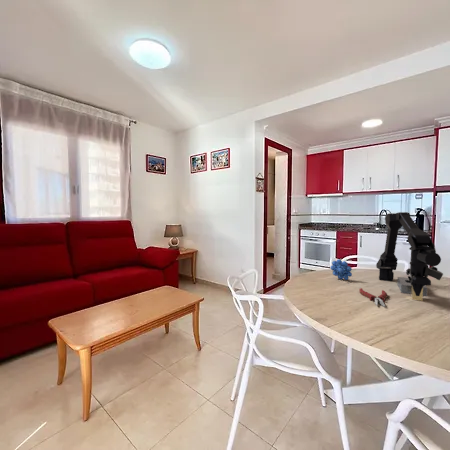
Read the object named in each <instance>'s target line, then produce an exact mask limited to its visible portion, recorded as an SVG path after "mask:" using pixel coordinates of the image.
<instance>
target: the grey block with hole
mask: <svg viewBox="0 0 450 450" xmlns="http://www.w3.org/2000/svg"><path fill="white" fill-rule="evenodd" d="M396 284H397V286H398V288H399V291H400V293H402V294H410V295H411V287H412V286H411V283H410V281H409V278H408V277H403V276H397V283H396ZM423 296H424V297H427V296H428V287H427V285H425V286H423Z"/></svg>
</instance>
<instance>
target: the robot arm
mask: <svg viewBox="0 0 450 450" xmlns="http://www.w3.org/2000/svg"><path fill="white" fill-rule="evenodd" d="M384 220H385V225H386V227H387V232H386V240H385V245H384V251H383V252H382V253H381V254H380V257H379V259H378V261H377V262H376V264H375V267H376V269H378V270H379V271H378V280H379V281H386V282H393V280H394V274H395V273H394V271H396V270H397V267H398V257H396V254H395V251H396V247H397V240H398V236H399V235H398V234H399V230H400V229H401V228H402V227H403V229H404V230H405V232H406V234H407V238H406V240H407V242H408V244H409V245H410V247H409V248H408V250H409V251H410V261H409V265H410V266H409V268H408V269H406V271H405V272H406V276H407V278H409V281H410V283H411V286H413V289H414V292H415V294H416V296H419V295H420V293H421V290H422V288H423V286H425V285H426V286H432V280H431V279H430V278H429V277H432V278H434V279H435V280H438V281H441V279H442V277H443V276H444V273H443V272H442V271H439V270H438V267H436V266H439V265H440V264H441V262H442V261H441V260H442V258H441V256H440V254H438V253H437V250H436V246H435V244H434V242H433V240H432V238H431V236H430V235H429V234H428V233H427V232H426V231H424V230H421V228H419V227H418V225H417V223H416V222H415V221H414V220H413V218H412V217H411V214H410V212H405V211H403V212H402V211H400V212H394V213H390V212H389V213H387V214H386V215H385V217H384Z"/></svg>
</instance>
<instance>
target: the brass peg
mask: <svg viewBox="0 0 450 450" xmlns="http://www.w3.org/2000/svg"><path fill="white" fill-rule="evenodd" d="M410 298H411V300H414V301H421V302H423V298H424V297H423V288H422V290H421V293H420V295H419V296H416V294H415V292H414V289H413V286H412V287H411V294H410Z"/></svg>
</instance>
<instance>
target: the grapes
mask: <svg viewBox="0 0 450 450" xmlns="http://www.w3.org/2000/svg"><path fill="white" fill-rule="evenodd" d="M331 264H332V265H331V266H330V269H331V271H332V275H333V276H335V277H337V279H339V280H340V279H341V280H343V279H344V280H345V281H347V280H349V278H350V277H352V276H353V272H351V271H352V270H353V269H352V266H350V265H348V262H347V261H345V260H343V261H342V260H341V259H339V258H338V259H336V260H332V262H331Z"/></svg>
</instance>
